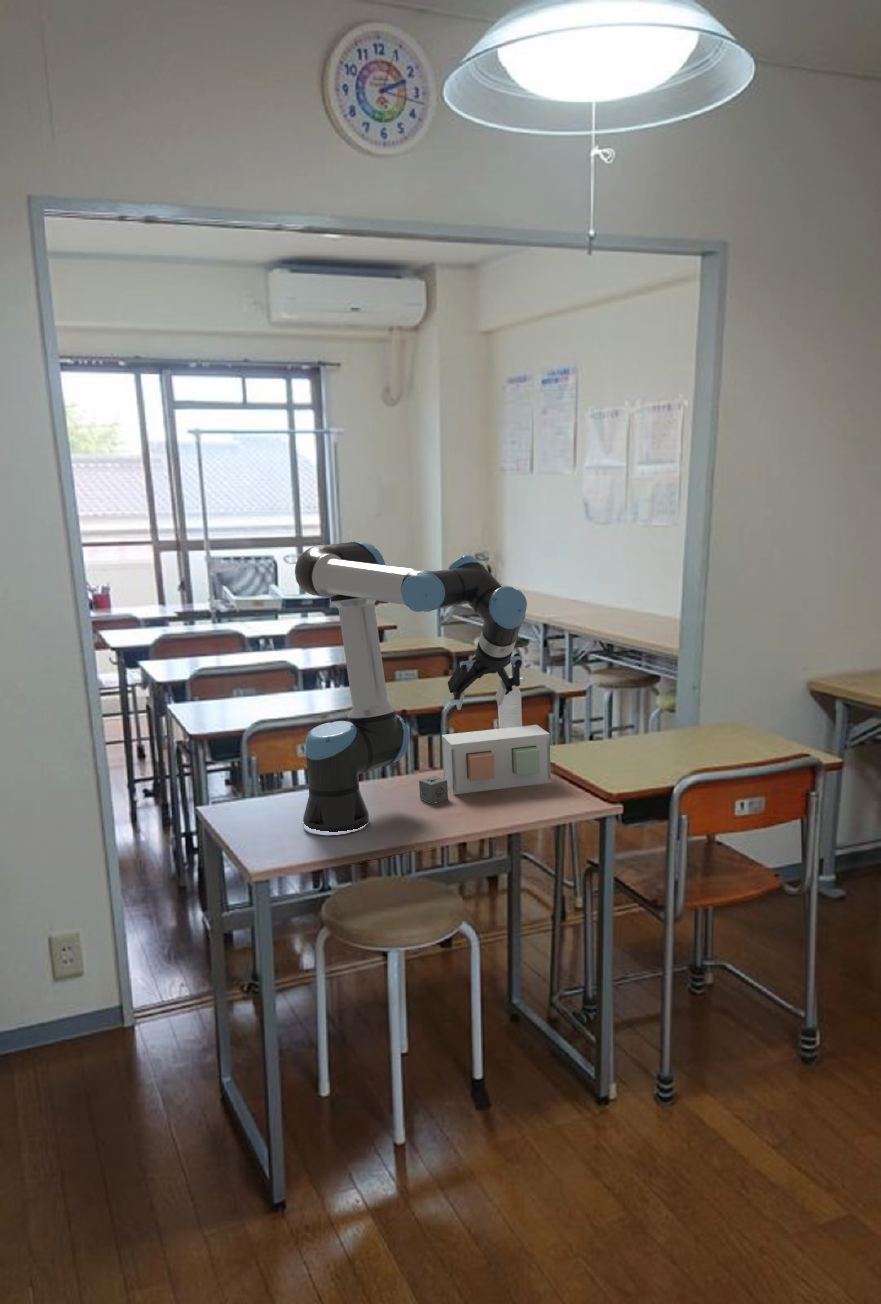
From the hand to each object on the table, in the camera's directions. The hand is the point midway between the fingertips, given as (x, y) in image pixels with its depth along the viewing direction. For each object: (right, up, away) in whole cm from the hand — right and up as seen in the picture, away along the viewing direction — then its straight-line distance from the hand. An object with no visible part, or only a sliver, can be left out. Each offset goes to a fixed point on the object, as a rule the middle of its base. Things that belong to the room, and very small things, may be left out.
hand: (478, 702), depth 211 cm
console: (+6, -22, +27) cm, 35 cm away
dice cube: (-10, -25, +16) cm, 32 cm away
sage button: (+13, -19, +23) cm, 32 cm away
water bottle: (+12, -20, +41) cm, 47 cm away
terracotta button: (+1, -20, +20) cm, 28 cm away
